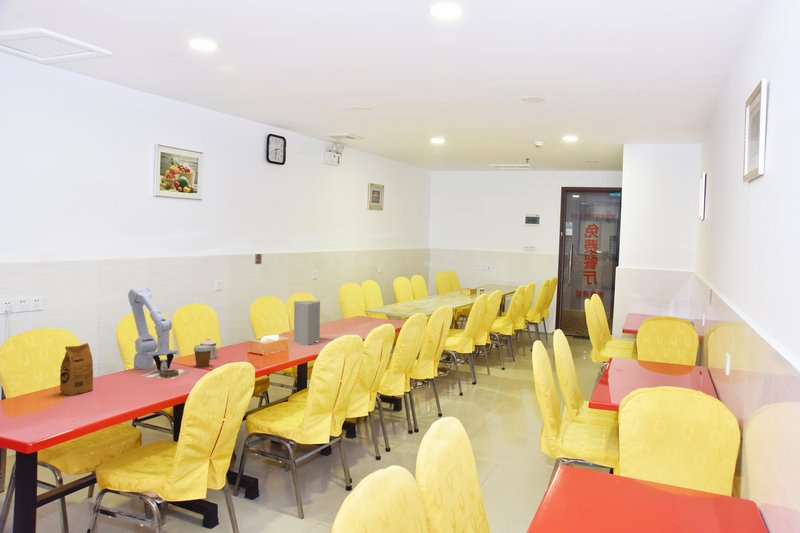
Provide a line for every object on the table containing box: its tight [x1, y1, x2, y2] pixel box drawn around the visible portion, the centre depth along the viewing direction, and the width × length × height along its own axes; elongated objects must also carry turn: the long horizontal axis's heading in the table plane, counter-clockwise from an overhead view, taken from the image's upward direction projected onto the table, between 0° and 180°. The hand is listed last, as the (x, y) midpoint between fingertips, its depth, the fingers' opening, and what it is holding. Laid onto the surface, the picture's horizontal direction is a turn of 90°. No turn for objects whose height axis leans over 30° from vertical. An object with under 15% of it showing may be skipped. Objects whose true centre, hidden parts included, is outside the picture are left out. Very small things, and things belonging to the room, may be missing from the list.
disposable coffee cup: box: [193, 344, 212, 368], centre depth 318 cm, size 10×10×12 cm
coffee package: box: [59, 342, 94, 396], centre depth 266 cm, size 10×12×22 cm
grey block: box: [293, 300, 321, 346], centre depth 395 cm, size 19×15×28 cm
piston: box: [159, 358, 168, 372], centre depth 304 cm, size 4×4×6 cm
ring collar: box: [159, 369, 179, 379], centre depth 296 cm, size 9×9×2 cm
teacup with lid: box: [199, 337, 219, 360], centre depth 342 cm, size 12×9×12 cm
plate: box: [139, 368, 191, 379], centre depth 300 cm, size 18×18×1 cm
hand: (163, 369), depth 304 cm, fingers closed on piston, 4 cm apart
